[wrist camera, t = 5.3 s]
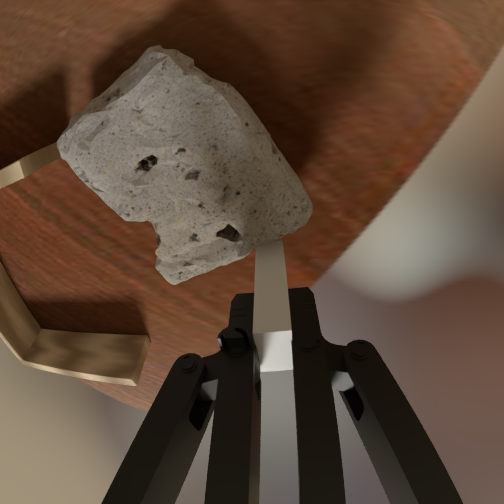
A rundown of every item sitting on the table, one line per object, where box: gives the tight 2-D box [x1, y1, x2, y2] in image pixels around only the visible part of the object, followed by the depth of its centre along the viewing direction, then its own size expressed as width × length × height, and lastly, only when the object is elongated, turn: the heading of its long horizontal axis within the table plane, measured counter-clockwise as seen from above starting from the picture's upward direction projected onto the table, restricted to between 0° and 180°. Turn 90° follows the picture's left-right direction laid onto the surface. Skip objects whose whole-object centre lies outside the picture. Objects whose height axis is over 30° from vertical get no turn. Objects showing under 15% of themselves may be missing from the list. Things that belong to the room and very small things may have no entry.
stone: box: [57, 45, 313, 285], centre depth 14 cm, size 13×6×10 cm
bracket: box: [0, 142, 151, 386], centre depth 18 cm, size 16×19×5 cm
